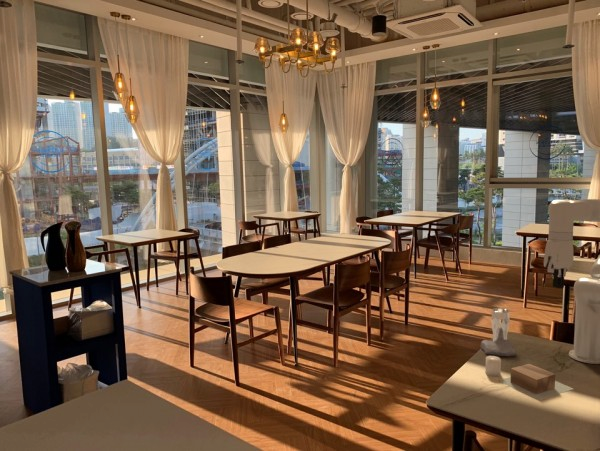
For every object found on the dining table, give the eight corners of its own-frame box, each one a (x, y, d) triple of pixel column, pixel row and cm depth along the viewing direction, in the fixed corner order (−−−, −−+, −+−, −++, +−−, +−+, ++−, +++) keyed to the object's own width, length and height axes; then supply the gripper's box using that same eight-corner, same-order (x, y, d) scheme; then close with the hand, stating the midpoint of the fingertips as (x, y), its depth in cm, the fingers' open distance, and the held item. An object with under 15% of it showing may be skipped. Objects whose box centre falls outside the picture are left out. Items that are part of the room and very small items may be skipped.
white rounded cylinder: (492, 370, 173) (492, 354, 172) (503, 375, 168) (504, 359, 167) (482, 373, 170) (482, 357, 170) (493, 378, 166) (493, 362, 165)
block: (529, 363, 165) (510, 368, 161) (555, 374, 156) (536, 379, 152) (528, 377, 166) (510, 382, 162) (554, 388, 157) (536, 394, 153)
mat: (531, 372, 171) (531, 371, 171) (574, 389, 156) (574, 388, 156) (498, 381, 164) (498, 380, 163) (539, 401, 149) (539, 400, 149)
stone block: (517, 361, 186) (509, 347, 195) (518, 350, 184) (510, 337, 194) (486, 361, 187) (479, 347, 197) (486, 350, 186) (480, 337, 195)
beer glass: (495, 340, 203) (497, 306, 201) (511, 345, 197) (513, 310, 196) (487, 344, 198) (488, 310, 196) (503, 349, 193) (504, 313, 191)
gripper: (564, 233, 173) (562, 282, 175) (536, 236, 166) (534, 287, 168) (584, 236, 166) (581, 287, 168) (556, 239, 160) (553, 292, 162)
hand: (558, 287), depth 168 cm, fingers closed
